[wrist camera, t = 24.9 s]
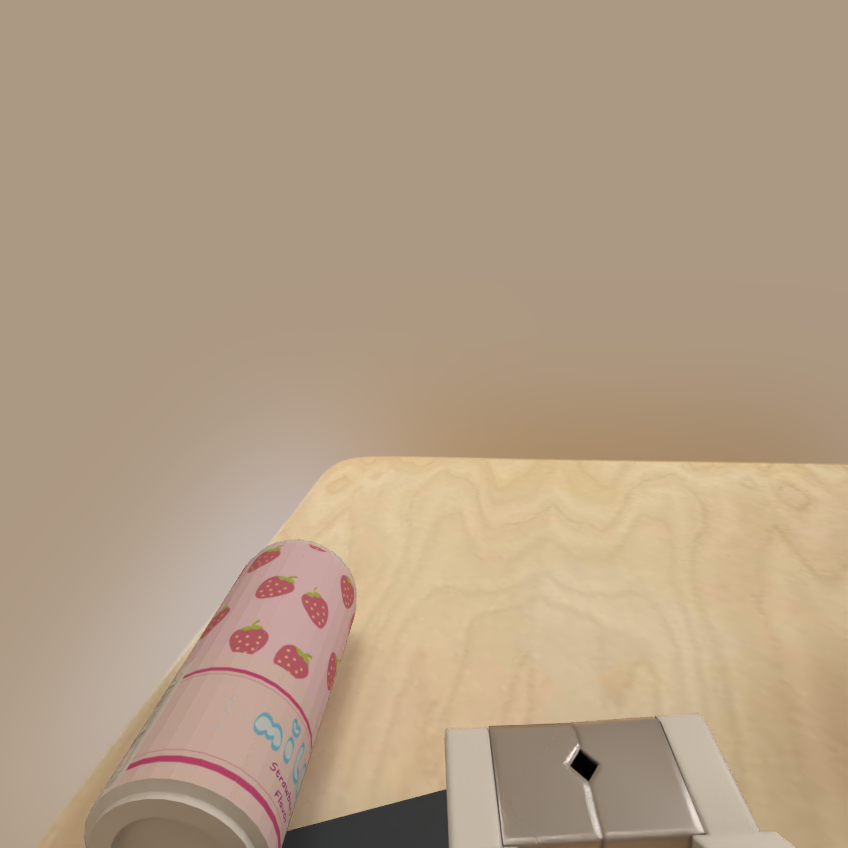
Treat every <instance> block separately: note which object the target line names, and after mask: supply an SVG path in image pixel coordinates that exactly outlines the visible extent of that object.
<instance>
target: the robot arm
mask: <svg viewBox="0 0 848 848" xmlns="http://www.w3.org/2000/svg"><path fill="white" fill-rule="evenodd" d="M445 762H446V787H447V811H448V835H449V848H796V847H795V846H794V845H792V844H791V843H790V842H788V841H787V840H786V839H784V838H783V837H782V836H780V835H779V834H778V833H776V832H775V831H764V832H760V830H759V828H758V826H757V824H756V822H755V820H754V818H753V816H752V813H751V811H750V809H749V807H748V805H747V803H746V801H745V799H744V797H743V795H742V793H741V791H740V789H739V787H738V785H737V783H736V781H735V779H734V777H733V775H732V773H731V771H730V769H729V767H728V765H727V763H726V761H725V759H724V757H723V755H722V753H721V751H720V749H719V747H718V745H717V743H716V741H715V739H714V737H713V735H712V733H711V731H710V729H709V727H708V725H707V723H706V721H705V719H704V718H703V717H702V716H701V715H700V714H698V713H688V714H675V715H662V716H655V717H654V718H653V717H640V718H627V719H613V720H599V721H585V722H572V723H558V724H532V725H506V726H489V732H488V728H487V727H483V728H450V729H446V732H445Z"/></svg>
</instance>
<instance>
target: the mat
mask: <svg viewBox="0 0 848 848" xmlns="http://www.w3.org/2000/svg"><path fill="white" fill-rule="evenodd" d="M281 848H449V835H448V811H447V789H446V790H442V791H438V792H434V793H431V794H427V795H423V796H419V797H415V798H412V799H408V800H404V801H400V802H397V803H393V804H389V805H385V806H381V807H378V808H374V809H370V810H366V811H362V812H359V813H355V814H351V815H347V816H344V817H340V818H336V819H332V820H328V821H325V822H321V823H317V824H313V825H310V826H306V827H302V828H298V829H294V830H291V831H287V832H286V835H285V838H284V841H283V844H282V847H281Z"/></svg>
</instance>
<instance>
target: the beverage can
mask: <svg viewBox="0 0 848 848" xmlns="http://www.w3.org/2000/svg"><path fill="white" fill-rule="evenodd" d="M355 611H356V586H355V581H354V578H353V576H352V574H351V572H350V570H349V568H348V567H347V566H346V564H345V563H344V562H343V560H342V559H341V558H339V557H338V556H337V555H336V554H335V553H334V552H332V551H331V550H329V549H327V548H326V547H324V546H322V545H319V544H317V543H314V542H311V541H305V540H285V541H280V542H276V543H274V544H272V545H270V546H267V547H266V548H265V549H263V550H262V551H261V552H259V553H258V554H257V555H256V556H255V557H254V558H253V559H252V560H250V562H249V563H248V564H247V565H246V567H245V568H244V569H243V571H242V573H241V574H240V576H239V577H238V579H237V580H236V582H235V584H234V585H233V587H232V588H231V590H230V591H229V593H228V595H227V596H226V598H225V599H224V601H223V602H222V604H221V606H220V607H219V609H218V610H217V612H216V613H215V615H214V617H213V618H212V620H211V621H210V623H209V624H208V626H207V628H206V629H205V631H204V632H203V634H202V635H201V637H200V639H199V640H198V642H197V643H196V645H195V647H194V648H193V650H192V651H191V653H190V654H189V656H188V658H187V659H186V661H185V662H184V664H183V665H182V667H181V669H180V670H179V672H178V673H177V675H176V676H175V678H174V680H173V681H172V683H171V684H170V686H169V687H168V689H167V691H166V692H165V694H164V695H163V697H162V698H161V700H160V702H159V703H158V705H157V706H156V708H155V709H154V711H153V713H152V714H151V716H150V717H149V719H148V721H147V722H146V724H145V725H144V727H143V728H142V730H141V732H140V733H139V735H138V736H137V738H136V739H135V741H134V743H133V744H132V746H131V747H130V749H129V750H128V752H127V754H126V755H125V757H124V758H123V760H122V761H121V763H120V765H119V766H118V768H117V769H116V771H115V772H114V774H113V776H112V777H111V779H110V780H109V782H108V783H107V785H106V787H105V788H104V790H103V791H102V793H101V795H100V796H99V798H98V799H97V801H96V802H95V804H94V806H93V807H92V809H91V811H90V813H89V816H88V818H87V821H86V826H85V836H84V837H85V843H86V848H281V847H282V844H283V841H284V838H285V835H286V832H287V828H288V825H289V822H290V819H291V816H292V813H293V809H294V806H295V803H296V800H297V797H298V794H299V790H300V787H301V784H302V781H303V778H304V775H305V771H306V768H307V765H308V762H309V759H310V756H311V752H312V749H313V746H314V743H315V740H316V737H317V733H318V730H319V727H320V724H321V721H322V718H323V714H324V711H325V708H326V705H327V702H328V699H329V695H330V692H331V689H332V686H333V683H334V680H335V676H336V673H337V670H338V667H339V664H340V661H341V657H342V654H343V651H344V648H345V645H346V642H347V638H348V635H349V632H350V629H351V626H352V623H353V619H354V616H355Z"/></svg>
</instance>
